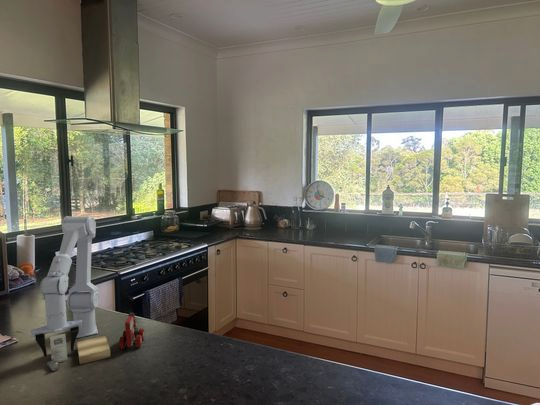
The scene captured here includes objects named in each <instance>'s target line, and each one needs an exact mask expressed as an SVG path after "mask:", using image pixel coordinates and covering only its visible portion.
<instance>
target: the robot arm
mask: <svg viewBox="0 0 540 405" xmlns="http://www.w3.org/2000/svg"><path fill="white" fill-rule="evenodd" d="M96 228H97V223H96V220H95V218H94V217H93V215H87V216H86V215H84V216H83V215H79V216H74V215H73V216H69V215H67V216H64V217H63V219H62V222H61V230H62V233H63V236H62V241H61V243H60V244H61V245H60V249H59V251H58V252H59V253H58V254H57V255H56V256H54V257H53V259H52V262H51V265H50V267H49V270H48V273H47V275H46V276H45V277H44V278H42V280H41V281H40V283H39V284H40V285H39V292H40V294H41V296H42V299H43V301H44V306H45V307H44V308H45V317H46V318H45V319H46V325H44V326H40V327H37V328H34V329H33V328H32V329H31V330H30V337H31V338H32V339H33V338H35V339H34V340H35V341H36V343H37V344H38V346H39V347H40V350H41V351H42V353H43V357H44V358H47V356H48V355H47V354H48V352H47V347H46V337H45V336H46V335H47V334H52V333H59V332H62V331H63V332H64V331H67V330H69V332H70V351H71V352H73V351H74V348H75V342H76V339H78V338H84V337H87V336H92V335H97V334H98V333H99V331H98V328H97V324H96V323H97V322H96V311H95V309H97V307H98V306H99V303H100V294H99V287H98V286H96V285H95V284H93V283H92V282H91V278H92V247H93V246H92V243H93V242H92V241H93V239H95V238H96V233H97V231H96ZM75 247H76V260H75V261H76V264H75V265H76V267H75V269H76V270H75V284H73V285H72V286H71V287H70V288H69V290H68V287H69V279H70V278H69V276H68V275H69V273H70V270H71V266H72V264H73V259H72V258H71V255H72V253H73V251H74V249H75ZM67 291H68V295H67V298H66V293H67ZM66 306H67V308H68V309H69V310H70V311H71V313H73V315H72V316H73V320H71V321H67V320H68V319H67V318H68V317H67V308H66Z"/></svg>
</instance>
